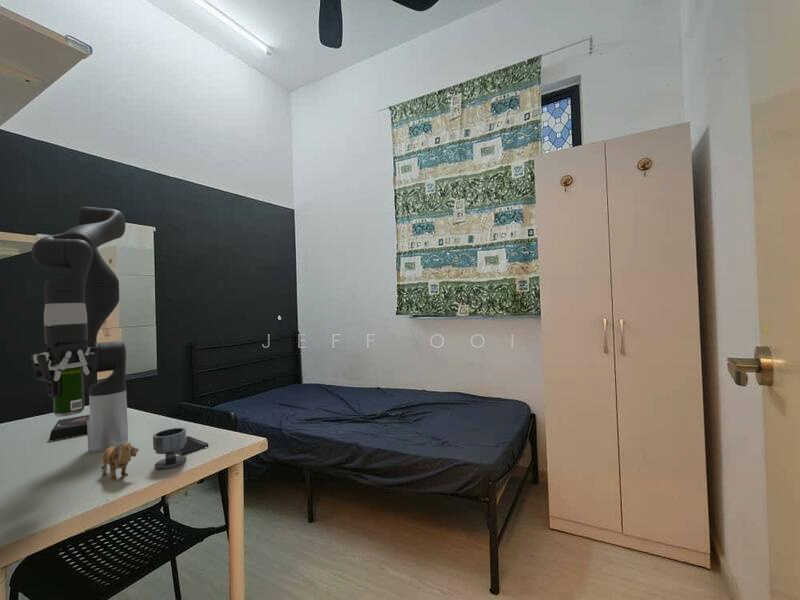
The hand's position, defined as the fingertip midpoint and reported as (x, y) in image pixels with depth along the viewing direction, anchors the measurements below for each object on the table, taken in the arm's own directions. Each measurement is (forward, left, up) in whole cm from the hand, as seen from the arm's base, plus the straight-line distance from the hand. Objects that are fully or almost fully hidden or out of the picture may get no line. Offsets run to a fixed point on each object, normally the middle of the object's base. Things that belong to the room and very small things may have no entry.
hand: (68, 393), depth 85 cm
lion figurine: (+3, +9, -23) cm, 25 cm away
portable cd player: (-46, +44, -24) cm, 68 cm away
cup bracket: (+13, +15, -23) cm, 31 cm away
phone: (+8, +27, -24) cm, 37 cm away
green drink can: (0, 0, -5) cm, 5 cm away
